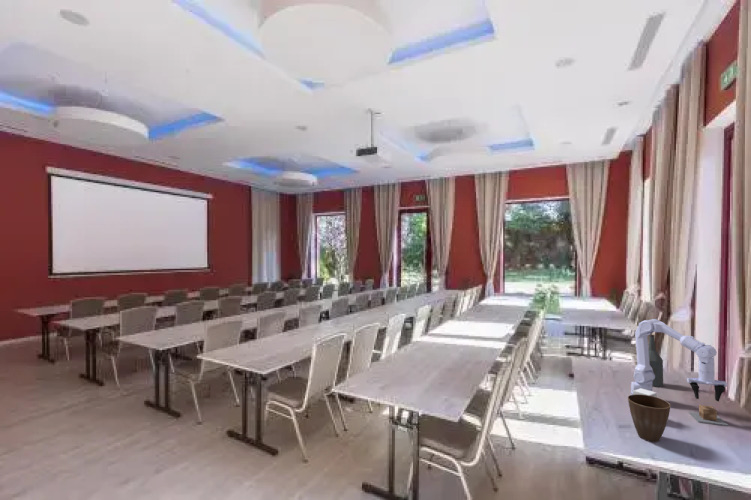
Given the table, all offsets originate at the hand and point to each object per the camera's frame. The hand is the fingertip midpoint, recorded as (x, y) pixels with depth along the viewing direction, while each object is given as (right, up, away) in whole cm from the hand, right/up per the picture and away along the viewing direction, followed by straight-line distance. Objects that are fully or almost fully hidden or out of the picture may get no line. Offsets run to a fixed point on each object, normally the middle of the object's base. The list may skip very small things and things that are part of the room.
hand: (706, 399), depth 178 cm
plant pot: (-40, -10, -17) cm, 45 cm away
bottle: (+9, -10, +47) cm, 49 cm away
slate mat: (0, -9, 0) cm, 9 cm away
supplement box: (-28, -10, +3) cm, 30 cm away
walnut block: (0, -9, 0) cm, 9 cm away
